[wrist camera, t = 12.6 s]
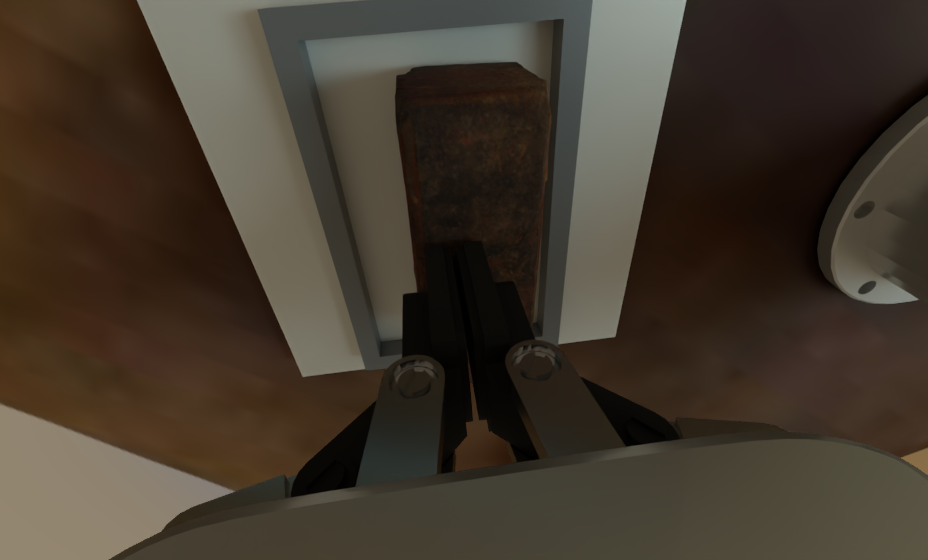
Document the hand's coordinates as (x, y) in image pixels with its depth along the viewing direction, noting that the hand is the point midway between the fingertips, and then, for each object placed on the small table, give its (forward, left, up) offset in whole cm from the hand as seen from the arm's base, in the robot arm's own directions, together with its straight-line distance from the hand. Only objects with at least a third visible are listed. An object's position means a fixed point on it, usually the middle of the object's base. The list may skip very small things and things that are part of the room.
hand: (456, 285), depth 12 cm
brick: (-1, 0, -5) cm, 5 cm away
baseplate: (0, 0, -6) cm, 6 cm away
